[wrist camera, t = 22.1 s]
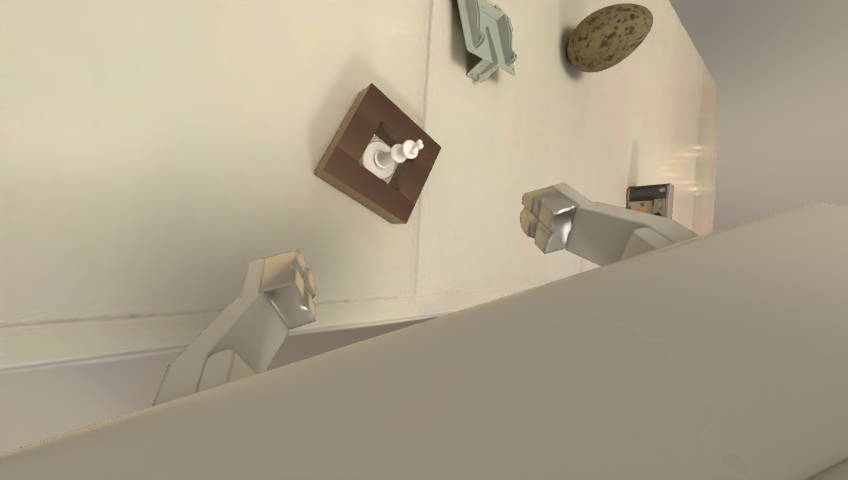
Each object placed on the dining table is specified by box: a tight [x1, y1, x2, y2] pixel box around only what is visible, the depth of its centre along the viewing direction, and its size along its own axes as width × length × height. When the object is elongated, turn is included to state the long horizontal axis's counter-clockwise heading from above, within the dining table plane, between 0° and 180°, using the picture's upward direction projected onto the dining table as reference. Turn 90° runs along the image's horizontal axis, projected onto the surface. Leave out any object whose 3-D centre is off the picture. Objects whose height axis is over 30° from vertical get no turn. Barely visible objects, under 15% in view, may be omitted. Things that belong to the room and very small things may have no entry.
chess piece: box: [360, 139, 424, 180], centre depth 35 cm, size 5×5×10 cm
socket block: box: [314, 83, 441, 224], centre depth 38 cm, size 12×12×4 cm
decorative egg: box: [567, 4, 653, 72], centre depth 60 cm, size 11×11×15 cm
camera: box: [627, 183, 674, 219], centre depth 85 cm, size 11×6×10 cm, turn 176°
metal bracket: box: [457, 0, 517, 82], centre depth 48 cm, size 14×6×15 cm
